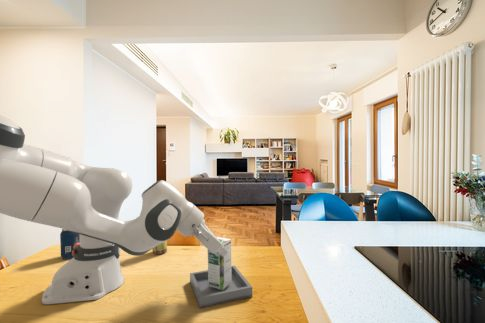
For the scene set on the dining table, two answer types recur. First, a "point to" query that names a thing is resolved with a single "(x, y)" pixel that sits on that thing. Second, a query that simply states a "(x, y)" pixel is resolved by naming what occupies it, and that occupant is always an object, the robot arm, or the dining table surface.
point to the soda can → (68, 243)
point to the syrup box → (220, 266)
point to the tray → (216, 296)
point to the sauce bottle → (160, 248)
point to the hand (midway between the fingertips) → (221, 248)
